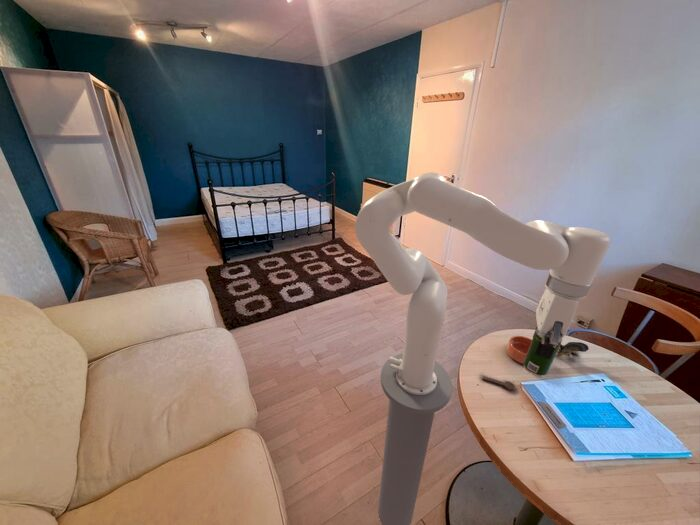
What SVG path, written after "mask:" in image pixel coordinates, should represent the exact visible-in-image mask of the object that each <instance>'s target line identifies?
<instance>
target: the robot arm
mask: <svg viewBox="0 0 700 525" xmlns="http://www.w3.org/2000/svg"><path fill="white" fill-rule="evenodd" d="M414 212H416V213H418V214H420V215H422V216H425V217H427V218H429V219H432V220H434V221H437V222H439V223H442V224H444V225H446V226H449V227H451V228H453V229H456V230H458V231H461V232H463V233H465V234H467V235H468V236H469V237H471V238H472V239H474V240H475V241H477V242H479V243H480V244H482V245H483V246H484V247H486V248H488V249H489V250H491V251H493V252H494V253H496V254H498V255H499V256H502V257H504V258H505V259H506V258H507V259H509V260H510V261H513V262H515V263H518V264H520V265H522V266H524V267H528V268H529V269H533V270H539V271H549V272H548V275H547V278H546V280H545V283H544V287H545V289H544V291H543V294H542V296H541V298H540V300H539V303H538V305H537V307H536V310H535V318H536V325H537V326H536V328H535V330H534V333H533V335H532V338H533V337H534V334H535V332H536V330H537V329H538V330H539V331H540V332H541V333H542V332H543V336H542V339H541V341H539V342H538V345H537V347H536V350H535V352H534V353H535V355H537V356H540V357H543V358H547V359H550V358H551V356H552V354H553V351H554V349H555V347H556V345H558V343H559V337H560V338H562V339H563V338H564V337H566V335H567V333H568V331H569V329H570V326H571V324H572V321H573V319H574V316H575V314H576V312H577V309H578V305H579V302H580V300H584V299H585V298H587V295H588V293H589V290H590V289H591V286H592V284H593V282H594V279H595V278H596V275H597V273H598V271H599V268H600V267H601V264H602V263H603V261H604V258H605V256H606V254H607V251H608V250H609V248H610V244H611V237H610V236H609V235H608V234H607V233H606V232H604V231H601V230H598V229H594V228H589V227H582V226H581V227H580V226H575V227H572V226H566V225H562V224H558V223H554V222H551V221H546V220H532V221H529V222H526V223H524V222H522V221H520V220H518V219H516V218H514V217H513V216H510V215H509V214H507V213H506V212H504V211H503V210H502V209H501V208H500V207H498V206H497V205H496V204H495V203H494V202H493V201H491V200H489V198H487V197H485V196H483V195H481V194H478V193H474V192H473V191H470V190H467V189H464V188H462V187H460V186H457V185H454V184H452V183H449V182H447V181H446V179H445V177H444V176H442V174H439V173H438V172H433V171H431V172H425V173H422V174H419V175H417V176H415V177H413V178H411V179H409V180H406V181H403V182H401V183H398V184H396V185H393V186H391V187H388V188H386V189H383V190H382V191H380V192H378V193H377V194H376V195H373V196H372V197H371V198H369V199H368V200H367V201H366V202H364V204H363V205H362V207H360V210H359V211H358V214H357V216H356V219H355V224H354V230H355V234H356V238H357V240H358V242H359V244H360V246H361V247H362V248H363V249H364V250H365V252H366V253H367V254H368V255H369V256H370V259H372V261H373V262H374V264H375V265H376V267H377V269H378V270H379V271H380V273H381V274H382V275H383V277H384V278H385V279H386V280H387V282H388V284H389V285H390V287H391V288H392V289H393V290H394V291H395V292H396V293H398V294H399V295H403V296H409V295H411V297H410V300H409V301H408V302H409V303H408V306H407V311H406V322H405V323H406V324H405V325H406V326H405V334H404V343H403V352H402V354H403V359H400V360H398V359H396V358H393V356H390V357H389V359H388V360H389V363H392V364H391V365H390V368H391V369H395V370H396V380H397V383H398V384H399V386H400V387H401V388H402V389H404V390H405V391H407V392H408V393H411V394H414V395H426V394H429V393H431V392H432V391H433V390H434V389H435V387H436V384H437V378H436V375H435V373H434V372H433V371H434V366H435V361H436V360H437V356H438V349H439V344H440V338H441V334H442V329H443V325H444V320H445V316H446V308H447V302H448V295H449V294H448V288H447V286H446V282H444V280H443V278H442V277H441V276H440V274H439V273H438V271H437V270H436V268H435V267H434V265H433V264H432V262H431V261H430V260H429V258H428V257H427V256H426V255H425V254H424V253H423V252H422V251H421V250H419V249H417V248H413V247H407V248H405V247H404V245H403V244H402V243H401V242H400V240H399V239H398V238H397V237H396V236H395V235H394V234H393V233H391V231H390V229H391V227H392V226H393V225H394V224H395V222H397V221H398V219H399V218H400V217H402V216H403V217H404V216H406V215H408V214H412V213H414ZM549 330H552V332H550V331H549ZM547 335H551V338H550V339H549V338H547V339H546V337H547ZM436 362H437V361H436ZM393 364H396V365H398V366H395V365H393Z"/></svg>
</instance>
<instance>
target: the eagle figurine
mask: <svg viewBox="0 0 700 525" xmlns="http://www.w3.org/2000/svg"><path fill="white" fill-rule="evenodd" d="M589 350H590V348H589V345H588V344H586V343H584V342H580V341H568V342H567V343H565V344H562V343H561V344H560V347H559V349H558V351H557V353H556V355H555V358H558V357H561V356H567V357H568V358H569V359H570V360H571V361H573V355H572V353H573V354H575V355H578V353H577V352H581V353H585V352H587V351H589Z"/></svg>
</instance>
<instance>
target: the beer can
mask: <svg viewBox="0 0 700 525" xmlns="http://www.w3.org/2000/svg"><path fill="white" fill-rule="evenodd" d="M535 330H536V329H535ZM549 331H550V332H552V330H549ZM534 333H535V334H534ZM534 333H533V335H534V337H533V336H532V338H531V339H532V342H531V344H530V347H529V349H528V352H527V354H526V357H525V359H524V362H523V364H522V365H523V368H524V369H525V370H526V372H528V373H529V374H530V375H532V376H534V377H545V376H546V375H548V373H549V371H550V368H551V367H552V364H553V362H554V360H555V358H556V355H557V354H558V353H557V351H559V350H558V349H559V348H560V344H561V345H562V342H563V338H560V337H559V343H558V345H556V347H555V349H554V351H553V354H552V356H551V358H550V359H547V358H543V357H540V356H537V355H535V353H534V352H535V350H536V347H537V345H538V342H539V341H541V339H542V336H543V332H542V333H541V332H540V331H539V330H538V329H537V330H536V332H535V331H534ZM547 338H549V339H550V338H551V335H547V337H546V339H547Z"/></svg>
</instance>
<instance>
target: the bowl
mask: <svg viewBox="0 0 700 525" xmlns="http://www.w3.org/2000/svg"><path fill="white" fill-rule="evenodd" d="M532 339H533V338H529V337H526V336H523V335H513V336H511V337H510V338H509V340H508V343H507V346H506V352H507V355H508V356H509V357H510V358H511V359H512V360H514V361H516V362H517V363H520V364H522V365H524V364H523V362H524V359H525V357H526V354H527V352H528V349H529V347H530V344H531V342H532Z"/></svg>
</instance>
